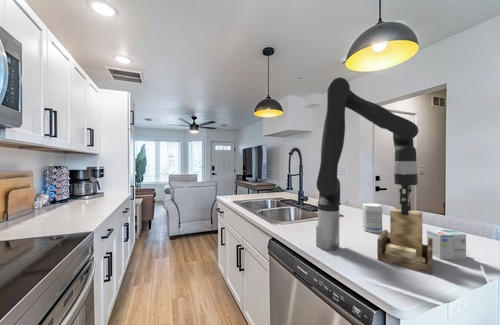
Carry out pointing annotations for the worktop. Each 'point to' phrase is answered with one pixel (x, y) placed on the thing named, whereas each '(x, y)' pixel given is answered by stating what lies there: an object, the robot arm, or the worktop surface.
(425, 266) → the rack
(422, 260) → the pine offcut bottom
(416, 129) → the robot arm
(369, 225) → the supplement tub
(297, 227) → the worktop surface
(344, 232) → the worktop surface
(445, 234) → the light bulb box
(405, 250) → the pine offcut top
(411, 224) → the oak board
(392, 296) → the worktop surface
